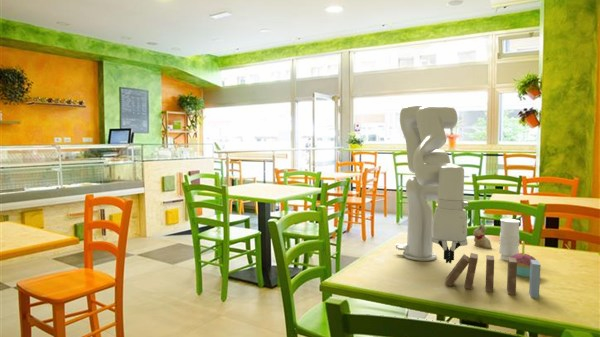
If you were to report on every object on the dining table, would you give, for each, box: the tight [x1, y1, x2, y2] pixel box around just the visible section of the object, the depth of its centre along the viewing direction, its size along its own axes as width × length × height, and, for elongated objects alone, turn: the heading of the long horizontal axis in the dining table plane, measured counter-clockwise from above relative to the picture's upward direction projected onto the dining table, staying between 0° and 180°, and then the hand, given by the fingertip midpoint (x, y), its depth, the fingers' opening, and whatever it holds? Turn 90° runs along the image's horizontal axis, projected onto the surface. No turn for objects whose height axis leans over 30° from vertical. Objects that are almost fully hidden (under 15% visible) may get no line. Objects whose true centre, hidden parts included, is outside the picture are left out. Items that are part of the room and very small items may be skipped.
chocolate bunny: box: [472, 223, 492, 250], centre depth 176 cm, size 6×8×10 cm
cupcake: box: [511, 240, 537, 278], centre depth 139 cm, size 9×8×12 cm
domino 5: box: [528, 259, 541, 300], centre depth 121 cm, size 2×5×10 cm, turn 156°
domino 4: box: [506, 257, 518, 297], centre depth 123 cm, size 2×5×10 cm, turn 157°
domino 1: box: [444, 253, 470, 288], centre depth 129 cm, size 2×5×10 cm
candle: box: [498, 218, 521, 262], centre depth 158 cm, size 7×7×15 cm
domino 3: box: [485, 254, 495, 294], centre depth 125 cm, size 2×5×10 cm, turn 157°
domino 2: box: [464, 252, 479, 290], centre depth 127 cm, size 2×5×10 cm, turn 157°
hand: (448, 261), depth 130 cm, fingers closed
